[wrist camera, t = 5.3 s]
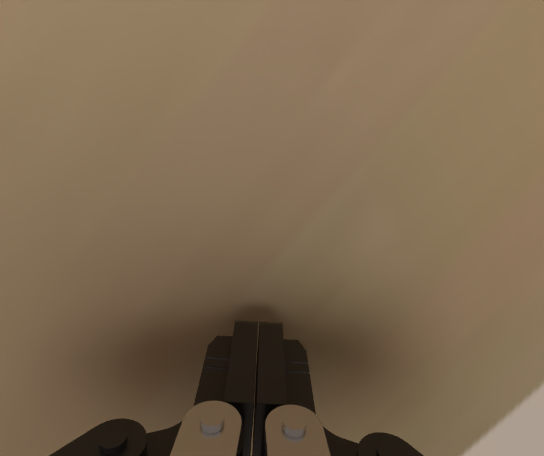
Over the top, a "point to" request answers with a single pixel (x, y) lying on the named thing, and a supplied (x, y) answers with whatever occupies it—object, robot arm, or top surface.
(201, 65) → the top surface
